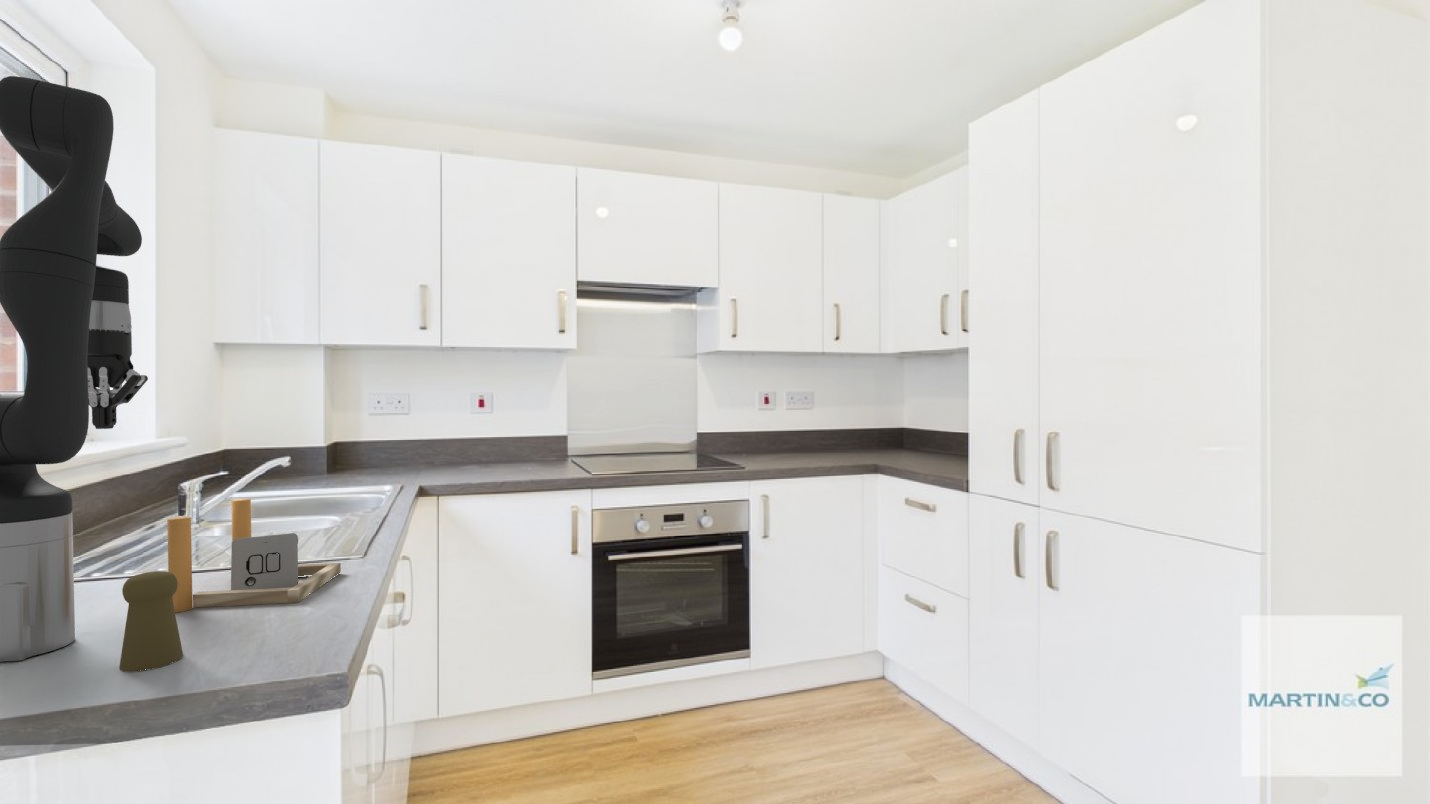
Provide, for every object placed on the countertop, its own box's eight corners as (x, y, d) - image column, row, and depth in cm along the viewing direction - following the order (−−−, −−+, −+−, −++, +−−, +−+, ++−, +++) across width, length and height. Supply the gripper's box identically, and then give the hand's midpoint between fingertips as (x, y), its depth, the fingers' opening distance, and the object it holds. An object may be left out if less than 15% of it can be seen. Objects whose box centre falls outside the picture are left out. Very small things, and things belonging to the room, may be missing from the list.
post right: (246, 580, 117) (245, 501, 117) (229, 580, 117) (227, 501, 116) (255, 575, 120) (253, 498, 120) (238, 576, 119) (236, 499, 119)
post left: (185, 612, 100) (183, 520, 100) (164, 613, 100) (162, 520, 100) (196, 606, 103) (195, 516, 103) (176, 607, 103) (175, 517, 102)
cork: (195, 651, 85) (193, 566, 85) (157, 671, 79) (155, 580, 79) (147, 652, 85) (145, 567, 85) (105, 672, 79) (103, 580, 79)
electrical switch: (230, 598, 107) (229, 540, 108) (233, 592, 112) (233, 537, 112) (298, 589, 112) (297, 533, 112) (299, 584, 116) (298, 531, 117)
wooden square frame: (298, 602, 105) (297, 589, 105) (193, 607, 102) (192, 594, 102) (340, 573, 121) (340, 562, 121) (250, 577, 119) (250, 566, 119)
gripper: (40, 326, 110) (43, 430, 111) (129, 327, 112) (131, 429, 113) (76, 330, 118) (78, 427, 118) (159, 331, 120) (161, 427, 120)
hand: (104, 428), depth 115 cm, fingers closed
